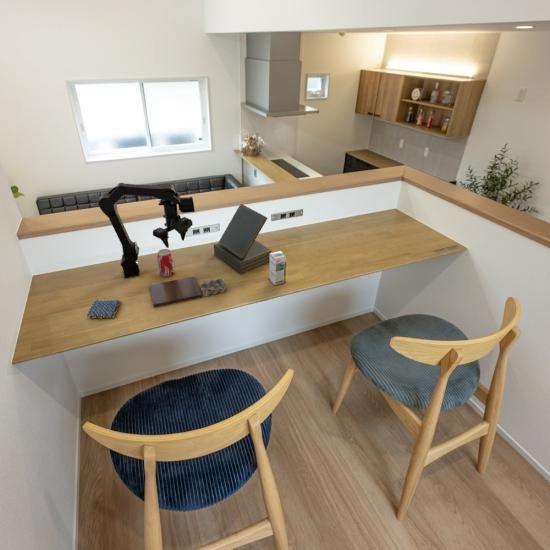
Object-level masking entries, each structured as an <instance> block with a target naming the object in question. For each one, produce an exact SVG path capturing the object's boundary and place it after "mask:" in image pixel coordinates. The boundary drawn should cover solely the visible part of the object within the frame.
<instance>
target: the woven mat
mask: <svg viewBox="0 0 550 550" xmlns="http://www.w3.org/2000/svg"><path fill="white" fill-rule="evenodd" d="M120 304H121V301H120V300H119V299H108V300H106V299H104V300H103V299H102V300H94V301H93V303H92V306H90V309H89V311H88V312H87V314H86V316H87V318H88V319H91V318H92V319H100V320H102V319H103V318H106V319H109V318H112V319H114V318H115V315H116V314H117V311H118V308H119V307H120Z"/></svg>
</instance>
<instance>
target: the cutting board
mask: <svg viewBox="0 0 550 550" xmlns="http://www.w3.org/2000/svg"><path fill="white" fill-rule="evenodd" d="M149 289H150V293H151V299H152V303H153V308H157V307H162V306H167V305H171V304H176V303H182V302H186V301H190V300H196V299H201V298H202V293H201V289H200V288H199V285H198V283H197V280H196V277H195V276H187V277H184V278H179V279H178V278H177V279H173V280H167V281H163V282H156V283H152V284H149Z"/></svg>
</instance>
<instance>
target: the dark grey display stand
mask: <svg viewBox="0 0 550 550" xmlns="http://www.w3.org/2000/svg"><path fill="white" fill-rule="evenodd" d="M267 220H268V217H267V216H265V215H263V214H262V213H260V212H258V211H256V210H254V209H252V208H250V207H248V206H246V205H245V204H243V203H240V204H239V206H238V207H237V209H236V211H235V212H234V214H233V216H232V218H231V220H230V221H229V223H228V225H227V226H226V228H225V230H224V232H223V234H222V235H221V237H220V239H219V241H217V243H214V244H213V255H214V256H215V257H217V258H218V259H219V260H221V261H222V262H224V263H225V264H227V266H229V267H231V268H232V269H234V271H236V272H237V273H238V274H240V275H242V274H244V273H247V272H249V271H252V270H254V269H256V268H258V267H261V266H263V265H266V264H267V263H270V253H272V249H270V248H269V247H267V246H265V245H264V244H262V243H260V242H259V241H258V240H256V239H257V237H258V236H259V234H260V232H261V231H262V229H263V227H264V225H265V224H266V222H267Z"/></svg>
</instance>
